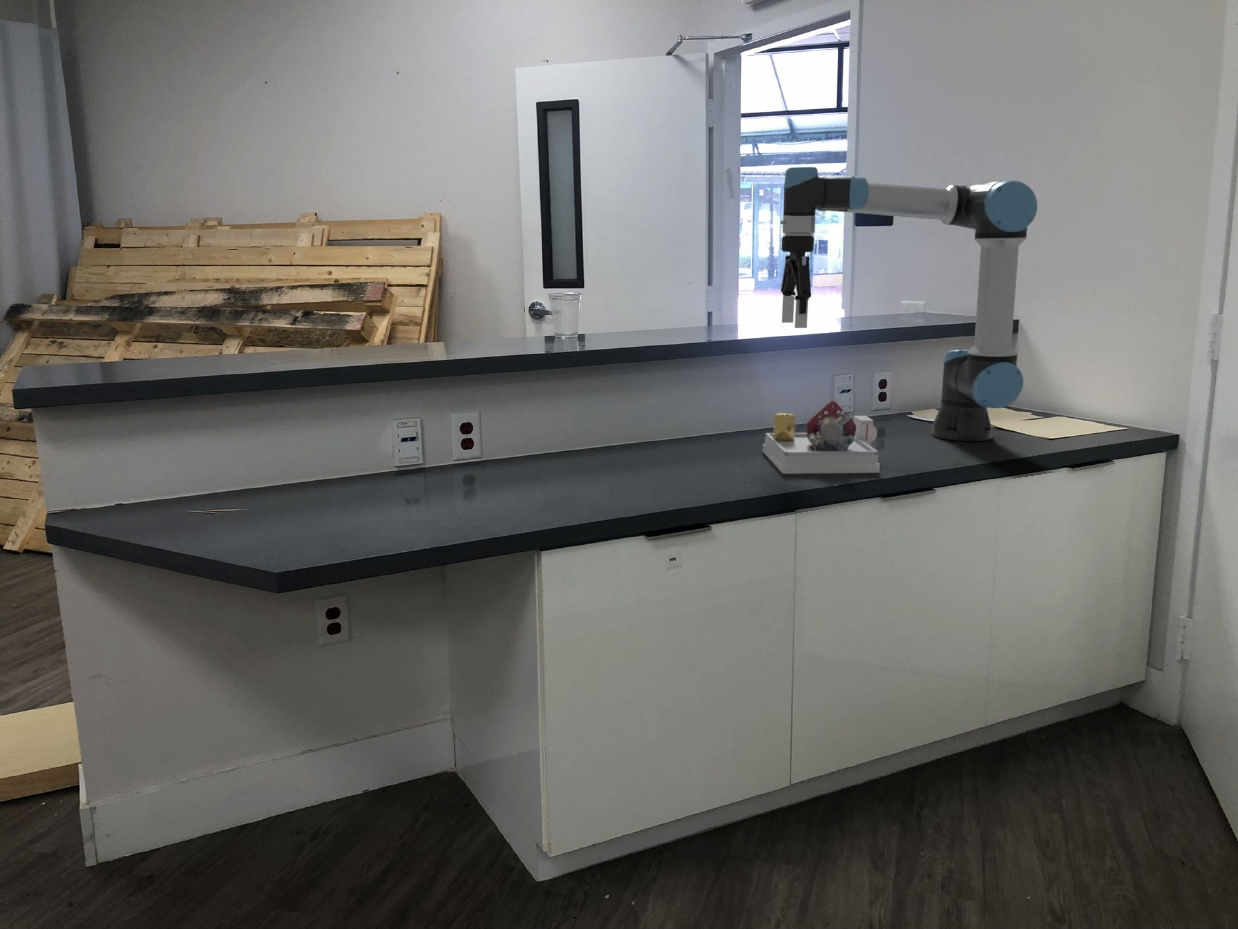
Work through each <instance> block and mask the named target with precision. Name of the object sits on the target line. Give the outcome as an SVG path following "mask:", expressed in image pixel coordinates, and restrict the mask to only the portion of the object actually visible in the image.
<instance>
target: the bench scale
mask: <svg viewBox="0 0 1238 929" xmlns="http://www.w3.org/2000/svg"><path fill="white" fill-rule="evenodd" d="M852 418H853V419H852V421H853V422H854V423H855V425H856V432H855V436H854V441H853V443H852V444H851V445H850V446H849V447H848V449H847V450H846V451H819V450H817V449H816V448H815V447H814V450H813V451H808V449H807V446H808V445H809V444H812V443H811V442H810V441H809V439H808V438H807V432H795V436H794V441H792V442H779V441H776V440H775V439H774V438H773V434H774V432H766V433H764V436H765V437H764V443H762V453H763V454H764V455H765V456H766V457H767V458H768V459H769V461H771V463H772V464H773V465H774V466H775V467H776V468H777V469H778V470H779V472H780V473H781V474H787V475H792V474H794V475H795V474H796V475H797V474H799V475H800V474H875V473H878V474H879V473H880V466H881V465H880V463H879V461H878V460H879V450H877V449H875V448H874V447H872V443H873V442H874V441H875V440H876V438H877V435H878V431H877V428H876V427H875V425H874V420H873V419H871V418H870V417H869V416H867V415H853V416H852ZM818 433H819V432H817V434H818Z"/></svg>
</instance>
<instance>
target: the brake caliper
mask: <svg viewBox="0 0 1238 929" xmlns="http://www.w3.org/2000/svg"><path fill="white" fill-rule="evenodd" d="M825 412H827V414H826V413H825ZM838 413H840V414H838ZM822 421H823V422H822ZM805 428H806V433H807V438H808V439H809V441H810V442H811V443H812V444H809V445H808V446H807V449H808V451H813V450H814V447H815V448H816V449H817V450H819V451H846V450H847V449H848V447H849V446H850V445H851V444H852V443H853V441H854V436H855V432H856V425H855V423H854V422H853V419H851V417H850V416H849V415H848V413H846V410H844V409H843V408H842V406H841V405H839V404H838V402H837V401H835V400H830V401H829V402H828V403H826V405H825V406H823V407H822V408H821V409H820V410H819V411H818V412H817V413H816V414H815V415H813V416H812V417H811V418H810V419H809V420H808V421H807V423H806V425H805ZM817 433H818V434H817Z"/></svg>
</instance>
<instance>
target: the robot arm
mask: <svg viewBox="0 0 1238 929" xmlns="http://www.w3.org/2000/svg"><path fill="white" fill-rule="evenodd" d="M818 172H819V171H818V168H817V167H815V166H791V167H789V168H787V169H786V171H785V175H784V184H783V214H782V217H783V218H782V219H783V220H780V224H781V225H782V233H783V234H784V235H783V236H782V237H781V251H782V252H784V253H789V255H788V254H786V255H785V256H784V258H785V259H784V260H785V261H784V269H783V275H782V276H783V277H782V281H781V288H780V293H782V308H781V309H782V311H781V313H782V314H781V323H782V324H783V323H784V324H785V323H786V324H787V323H788V324H789V323H790V324H791V323H793V324H794V328H795V329H807V328H808V314H809V300H810V298H812V289H811V288H812V287H811V272H810V271H811V270H810V259H811V258H810V256H806V253H812V252H813V251H814V249H815V247H814V246H815V237H814V236H813V234H815V233H816V211H819V212H828V211H829V212H838V213H839V212H841V213H853V214H854V213H855V214H864V215H865V214H866V215H867V214H868V215H877V216H878V215H879V216H890V217H903V218H913V219H914V218H915V219H924V220H925V219H926V220H935V221H936V220H937V221H941V223H942V224H943V225H946V226H947V225H949V226H957V227H962V228H966V229H970V230H971V229H972V230H974V241H975V242H976V243H977V244H978V245H979V246H980V253H979V254H980V255H979V267H978V268H979V269H978V283H977V284H978V285H977V298H976V315H975V329H974V344H973V346H972V347H971V348H970V349H951V350H948V351H947V352H945V356H944V361H943V373H942V374H943V375H942V383H941V384H942V385H941V386H942V387H941V397H940V398H941V399H940V407H939V409H938V411H937V413H936V417H935V418H934V421H933V423H932V426H931V435H932V436H934V437H935V438H936V437H937V438H940V439H944V440H948V441H949V440H950V441H957V442H982V441H983V442H984V441H988V440H991V439H992V435H993V428H992V425H991V419H990V416H989V412H988V408H989V409H1001V408H1005V407H1008V406H1009V405H1011V404H1012V403H1014V401H1016V400H1017V399H1018V397H1019V396H1020V394H1021V392H1022V390H1023V388H1024V376H1023V374H1022V372H1021V371H1020V368H1019V367H1018V366H1017V362H1018V352H1017V350H1016V349H1015V348H1014V347H1012V346H1013V345H1012V340H1013V327H1014V315H1015V314H1014V313H1015V300H1016V299H1015V298H1016V290H1017V289H1016V287H1017V277H1018V276H1017V275H1018V262H1019V249H1020V248H1019V247H1020V245H1021V244H1023V242H1025V241H1026V239H1027V236H1028V235H1027V233H1028V226H1030V224H1031V223H1032V222H1033V221H1034V219H1035V218H1036V215H1037V212H1038V200H1037V197H1036V194H1035V192H1034V191H1033V189H1032V188H1031V187H1029V185H1028V184H1026V183H1023V182H1022V181H1018V180H1010V179H1006V180H1005V179H1004V180H999V181H991V182H983V183H978V184H977V183H975V184H967V185H954V184H951V185H948V187H946V188H939V187H938V188H937V187H927V186H915V185H914V186H913V185H903V184H902V185H901V184H891V183H889V184H887V183H880V182H879V183H877V182H869V181H868V180H867V178H865V177H863V176H856V175H851V176H849V175H847V176H846V175H845V176H844V175H843V176H839V175H836V176H833V175H832V176H824V175H819V173H818ZM795 289H796V290H795ZM794 312H795V313H794Z"/></svg>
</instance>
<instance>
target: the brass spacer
mask: <svg viewBox="0 0 1238 929" xmlns="http://www.w3.org/2000/svg"><path fill="white" fill-rule="evenodd" d="M795 431H796V414H793V413H785V412H784V413H783V412H781V413H780V412H779V413H775V414H774V415H773V433H774V434H773V438H774V439H775V440H776V441H779V442H792V441H794V436H795V433H796V432H795Z"/></svg>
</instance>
